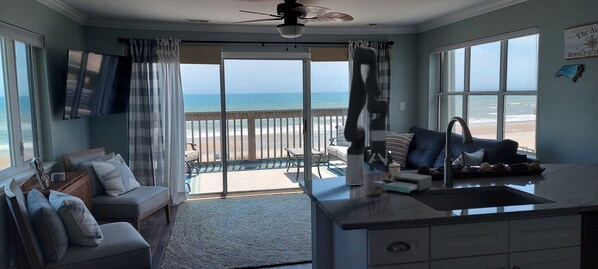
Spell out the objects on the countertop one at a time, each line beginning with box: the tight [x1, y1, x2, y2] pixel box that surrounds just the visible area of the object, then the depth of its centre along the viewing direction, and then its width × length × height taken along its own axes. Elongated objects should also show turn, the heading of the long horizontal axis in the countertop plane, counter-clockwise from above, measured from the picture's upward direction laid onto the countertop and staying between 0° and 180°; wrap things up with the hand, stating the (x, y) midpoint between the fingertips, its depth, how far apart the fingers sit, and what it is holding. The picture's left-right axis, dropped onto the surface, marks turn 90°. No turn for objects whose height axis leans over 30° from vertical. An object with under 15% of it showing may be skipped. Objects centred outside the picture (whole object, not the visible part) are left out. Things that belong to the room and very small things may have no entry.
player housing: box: [392, 172, 433, 192], centre depth 222 cm, size 16×12×6 cm
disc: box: [371, 180, 386, 188], centre depth 209 cm, size 6×6×2 cm
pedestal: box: [373, 187, 383, 195], centre depth 209 cm, size 4×4×4 cm
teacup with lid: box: [384, 159, 401, 181], centre depth 240 cm, size 12×9×12 cm
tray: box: [382, 181, 418, 194], centre depth 215 cm, size 15×12×3 cm
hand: (379, 171), depth 208 cm, fingers open, 8 cm apart
